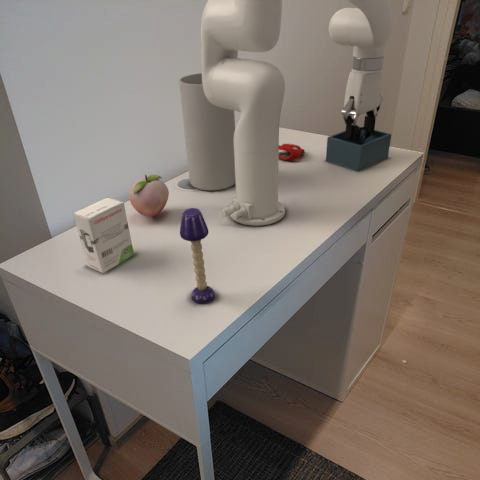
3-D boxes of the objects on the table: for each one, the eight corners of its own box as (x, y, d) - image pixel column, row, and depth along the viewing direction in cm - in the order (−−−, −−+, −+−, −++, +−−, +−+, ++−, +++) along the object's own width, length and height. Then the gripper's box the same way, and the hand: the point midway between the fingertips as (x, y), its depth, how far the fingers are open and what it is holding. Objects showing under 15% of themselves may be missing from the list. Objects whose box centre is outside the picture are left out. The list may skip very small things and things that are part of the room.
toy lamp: (207, 307, 84) (199, 219, 73) (183, 302, 85) (171, 215, 75) (218, 292, 87) (211, 206, 77) (195, 287, 89) (185, 202, 78)
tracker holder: (300, 144, 144) (311, 147, 135) (297, 160, 146) (308, 163, 137) (261, 139, 141) (270, 140, 132) (259, 154, 143) (267, 157, 134)
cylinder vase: (181, 181, 129) (169, 78, 113) (219, 169, 134) (213, 70, 119) (207, 196, 121) (198, 87, 105) (246, 182, 126) (243, 78, 111)
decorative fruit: (146, 205, 117) (139, 165, 111) (176, 210, 115) (171, 169, 109) (125, 222, 111) (116, 180, 104) (156, 228, 108) (149, 185, 102)
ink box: (119, 248, 101) (107, 195, 94) (135, 255, 99) (124, 201, 92) (86, 266, 96) (71, 212, 89) (103, 274, 94) (89, 218, 86)
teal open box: (358, 171, 129) (361, 146, 125) (325, 161, 136) (327, 137, 132) (387, 158, 136) (391, 133, 132) (355, 149, 143) (357, 125, 139)
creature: (345, 150, 130) (375, 143, 129) (343, 130, 127) (374, 123, 126) (341, 141, 136) (370, 134, 135) (339, 122, 133) (368, 114, 132)
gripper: (375, 56, 128) (367, 125, 139) (333, 68, 119) (328, 140, 130) (400, 59, 123) (389, 131, 134) (358, 72, 115) (350, 147, 125)
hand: (359, 135), depth 132 cm, fingers closed on creature, 7 cm apart
